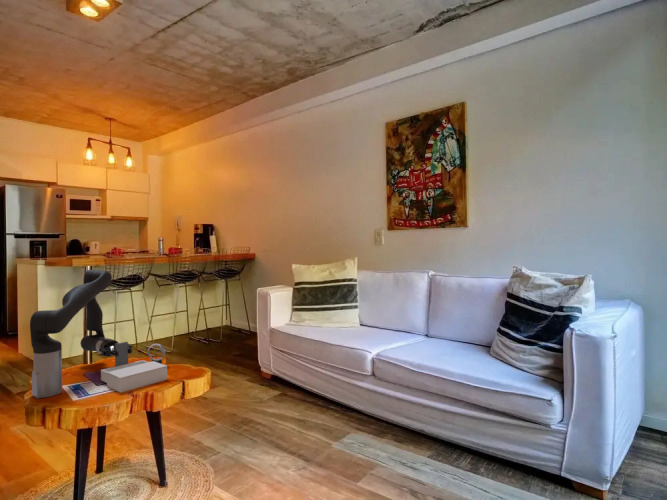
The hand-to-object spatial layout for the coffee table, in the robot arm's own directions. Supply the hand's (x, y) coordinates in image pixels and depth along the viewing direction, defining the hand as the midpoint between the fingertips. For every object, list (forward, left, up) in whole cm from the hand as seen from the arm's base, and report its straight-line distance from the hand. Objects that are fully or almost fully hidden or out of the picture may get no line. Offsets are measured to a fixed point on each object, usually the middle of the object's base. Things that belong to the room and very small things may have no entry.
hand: (124, 352), depth 182 cm
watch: (+17, +4, -11) cm, 21 cm away
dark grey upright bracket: (0, -3, -10) cm, 11 cm away
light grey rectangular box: (0, -12, -11) cm, 17 cm away
